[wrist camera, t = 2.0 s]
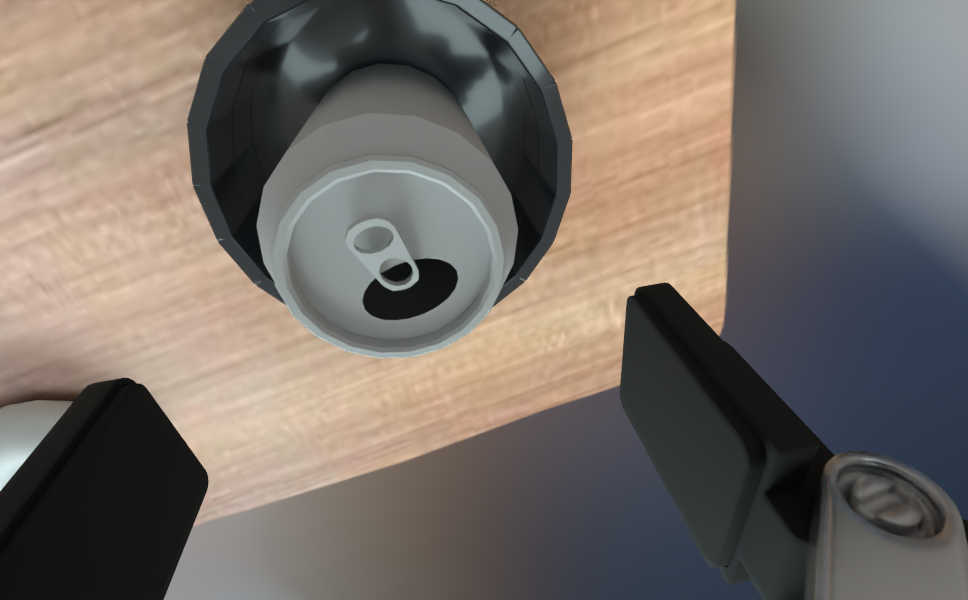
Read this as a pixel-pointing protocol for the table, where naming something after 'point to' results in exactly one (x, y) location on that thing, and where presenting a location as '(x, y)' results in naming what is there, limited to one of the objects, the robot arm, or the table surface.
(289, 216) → the can
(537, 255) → the pot
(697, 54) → the table surface
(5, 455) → the donut
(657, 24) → the table surface
